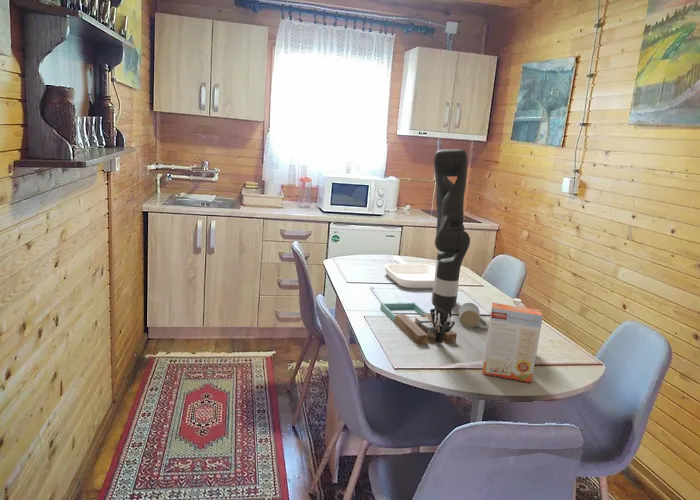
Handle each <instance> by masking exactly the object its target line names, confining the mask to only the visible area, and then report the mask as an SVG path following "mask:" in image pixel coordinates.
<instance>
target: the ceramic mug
mask: <svg viewBox="0 0 700 500" xmlns="http://www.w3.org/2000/svg"><path fill="white" fill-rule="evenodd" d="M480 316H481V315H480V309H479V307H478V306H477V305H476V304H475V303H472V302H465V303H463V304H462V305H460V307H459V309H458V318H459V319H458V320H459V322H460V324H461V325H462V326H463V327H467V328H468V327H469V328H471V329H474V328H476V327H478V328H480V329H483V330H485V328H486V329H487V327H489V324H488V323H487V322H486V321H485V320H484V319H483V318H482V317H480Z"/></svg>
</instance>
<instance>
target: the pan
mask: <svg viewBox="0 0 700 500" xmlns="http://www.w3.org/2000/svg"><path fill="white" fill-rule="evenodd" d="M392 259H393V260H394V261H395V262H397V263H387V264H384V267H383V268H384V269H385V273H386V275H387V277H388V278H390V280H392V281H393V282H394V283H395V284H396V285H398V286H399V287H402V288H406V289H416V290H417V289H426V290H427V289H433V283H434V276H435V268H436V265H435V266H434V265H431V264H426V263H423V264H422V263H407V262H405V261H404V260H403V259H402V258H401V257H400V256H398V255H394V256H393V257H392Z"/></svg>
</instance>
